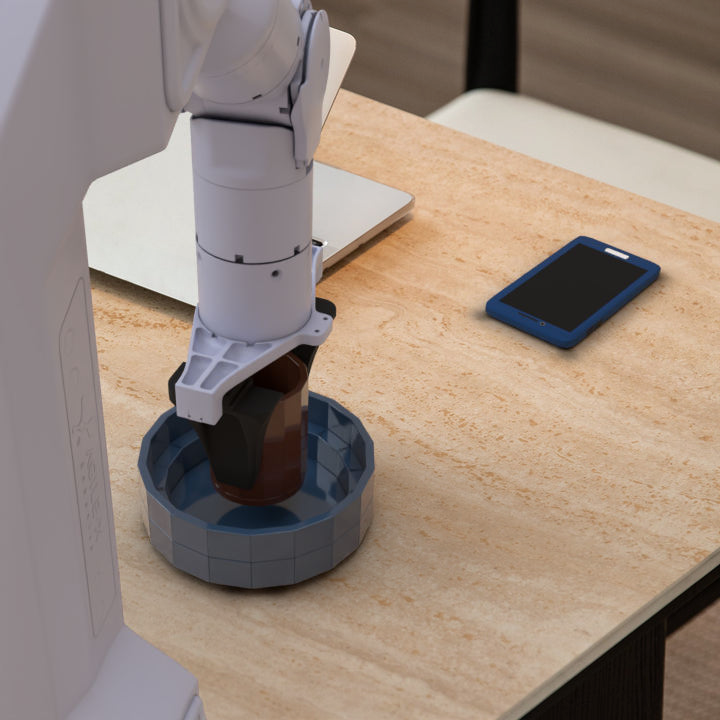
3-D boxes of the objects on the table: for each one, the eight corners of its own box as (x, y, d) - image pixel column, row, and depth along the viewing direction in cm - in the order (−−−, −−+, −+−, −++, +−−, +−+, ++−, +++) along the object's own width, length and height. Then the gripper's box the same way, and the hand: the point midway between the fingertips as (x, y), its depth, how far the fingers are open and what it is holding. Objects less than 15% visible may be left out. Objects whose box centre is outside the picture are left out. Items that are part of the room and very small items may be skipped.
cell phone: (663, 274, 94) (665, 265, 94) (567, 352, 86) (568, 343, 85) (580, 240, 98) (581, 232, 98) (479, 312, 89) (480, 304, 89)
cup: (273, 519, 67) (273, 418, 63) (189, 484, 69) (184, 383, 65) (324, 464, 71) (327, 365, 67) (243, 432, 73) (241, 334, 69)
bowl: (296, 631, 64) (297, 569, 62) (95, 538, 69) (88, 477, 67) (411, 488, 74) (416, 429, 71) (226, 416, 79) (225, 358, 76)
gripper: (273, 329, 54) (274, 553, 62) (378, 185, 65) (368, 391, 73) (127, 296, 56) (147, 518, 64) (254, 161, 67) (257, 365, 75)
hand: (257, 448), depth 69 cm, fingers closed on cup, 5 cm apart
